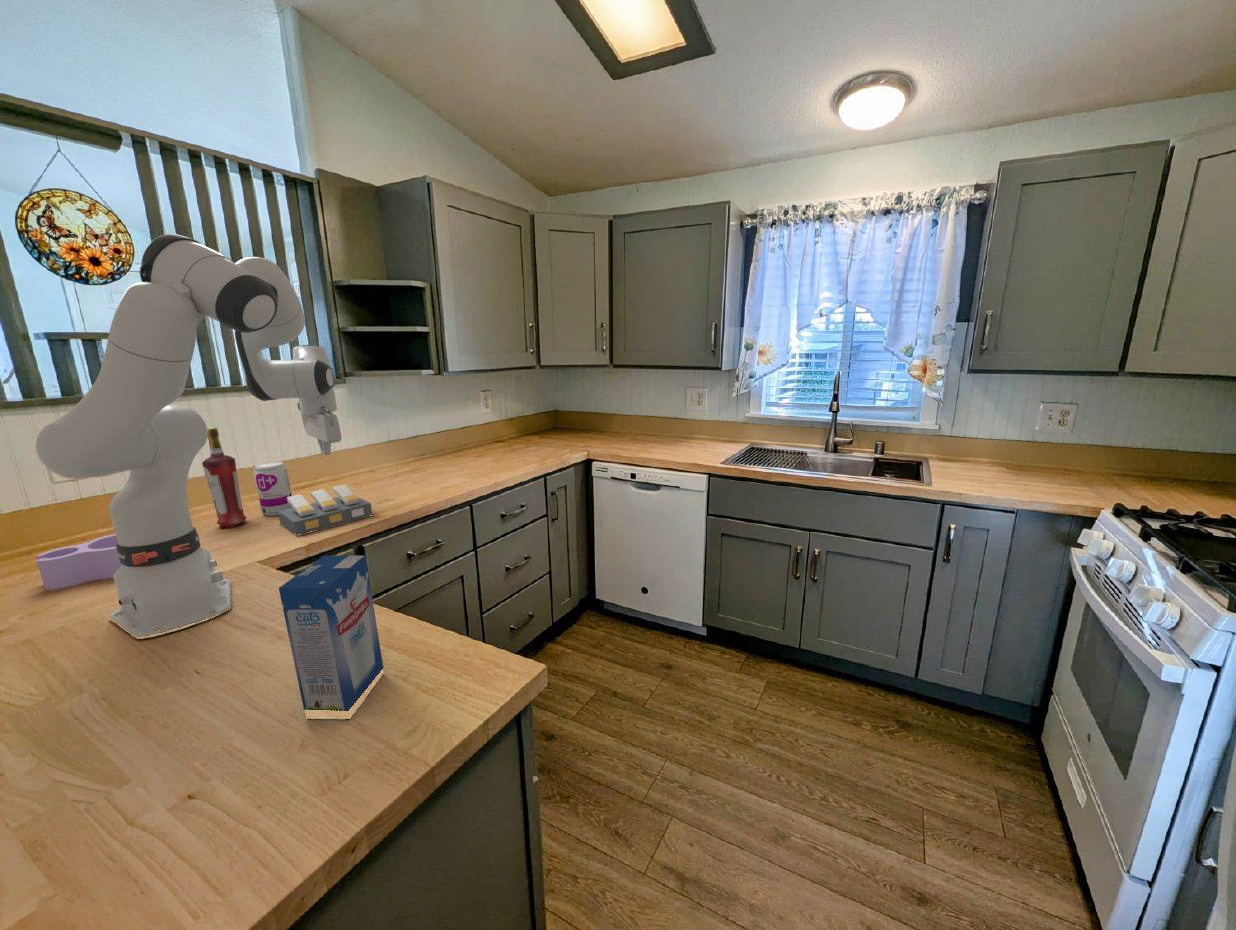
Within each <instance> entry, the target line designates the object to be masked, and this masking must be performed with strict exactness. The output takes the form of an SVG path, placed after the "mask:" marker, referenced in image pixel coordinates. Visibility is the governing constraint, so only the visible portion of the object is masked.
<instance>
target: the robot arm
mask: <svg viewBox="0 0 1236 930" xmlns="http://www.w3.org/2000/svg"><path fill="white" fill-rule="evenodd" d="M140 264H141V265H140V267H139V277H140V280H141V281H140V282H137V283H134V284H131V285H130V286H128V288H126V290H125V292H124V294H123V295H122V296H121V299H120V300H119V303H118V305H117V307H116V310H115V313H114V315H113V318H112V321H111V323H110V328H109V332H108V337H107V342H106V348H105V351H104V356H103V360H102V363H101V367H100V370H99V374H98V376H97V378H96V379H95V381H94V383H93V384H92V386H91V387H90V388H89V390H88V391H87V393H85V395H84V396H83V397H82V398H81V399H80V400H79V401H78V403H76V405H74V407H72V408H71V409H70V410H69V411H68V412H67V413H65V414H64V415H62V416H60V417H59V418H58V419H55V420H54V421H52V422H51V423H48V424H47V425H45V426H44V427H43V428H41V430H40V431H39V433H38V435H37V438H36V441H35V442H36V443H35V450H36V454H37V456H38V459H39V460H40V462H41V463H42V464H43V465H44V467H46V469H48V470H49V471H51V472H52V473H54V474H56V475H57V476H60V477H61V478H66V479H82V478H85V479H86V478H97V477H98V478H99V477H107V476H111V475H115V474H119V473H123V472H127V471H129V477H128V479H127V481H126V483H125V484H124V486H123V487H122V489H120V490H119V492H117V493H116V494H115V495H114V496H113V497H112V498H111V500H110V502H109V505H108V512H109V515H110V519H111V522H112V526H113V530H114V532H115V533H114V534H116V537H117V541H118V543H117V544H116V548H117V551H116V552H117V555H118V557H119V560H120V563H121V564H122V565H121V567H120V569H119V570H118V571H117V572H116V573H115V574H114V575H113V578H112V579H113V581H114V584H115V589H116V593H117V598H118V604H119V605H120V608H118V609H116V610H114V611H112V612H111V613H109V616H108V617H110V618H112V619H113V620H114V621H115V622H116V623H119V624H120V625H121V626H122V627H123V628H125V629H126V630H128V631H129V632H130V633H132V634H133V635H135V636H137V637H141V636H149V635H151V634H156V633H163V632H166V631H169V630H173V629H175V628H181V627H183V626H186V625H189V624H192V623H197V622H200V621H202V620H205V619H206V618H210V617H212V616H215V615H216V614H220V613H222V612H224V611H225V610H227V609H229V608H230V607H231V604H232V582H231V579H229V578H224V575H223V571H222V569H218V570H215V567H218V563H217V559H212V553H211V551H210V550H209V549H206V548H204V547H202V546H201V543H200V535H199V533H198V532H197V529H196V527H194V526H193V522H192V519H191V518H192V517H191V514H190V509H189V504H188V503H189V502H188V496H187V482H188V478H189V473H190V469H191V466H192V464H193V461H194V459H195V458H196V456H197V454H198V453H199V451H200V450H202V448H204V446H205V445H206V443H207V440H208V437H207V436H208V430H207V428H208V426H207V424H206V421H205V420H204V418H203V417H202V416H201V414H199V413H198V412H197V411H196V410H195V409H193V408H191V407H188V406H184V405H182V406H181V405H171V404H172V403H174V402H175V401H177V400H178V399H179V398H180V397H181V396H182V395H183V393H184V391H185V388H186V383H187V380H188V376H189V372H190V368H191V363H192V360H193V357H194V351H195V347H196V341H197V332H198V331H197V328H198V326H199V325H200V323H201V322H202V321H203V320H204V319H205V318H206V317H208V318H210V319H213V320H214V321H217V322H219V323H220V324H221V325H223V326H224V327H226V328H227V329H228V328H229V329H230V330H234V338H235V342H236V343H235V344H236V348H237V351H238V356H239V358H240V361H241V365H242V368H243V372H244V376H245V378H244V379H245V385H246V388H247V390H248V392H249V393H250V394H251V396H253V397H255V398H256V399H258V400H260V401H262V402H266V401H275V400H281V399H282V400H285V399H287V400H288V399H298V402H297V404H296V405H297V409H298V411H300V415H301V419H302V423H303V427H304V430H305V432H306V434H307V435H309V436H310V437H313V438H314V439H316V441H317V444H318V446H319V448H320V453H321V454H323V455H324V456H330V455H331V454H332V449H331V447H332V444H333V443H334V444H335V443H339V442H342V431H341V426H340V423H339V420H338V419H339V418H338V416H337V415H336V414H335V413H334V412H336V411H338V406H337V399H336V392H335V390H334V388H333V387H335V376H334V372H333V368H332V367H331V365H330V360H329V357H328V354H327V352H326V349H325V348H324V347H323V346H320V345H316V344H315V345H314V344H301V345H296V346H294V347H293V348H292V359H281V360H280V359H274V360H272V359H266V358H264V357H263V352H262V351H264V350H266V349H269V348H274V347H279V346H284V345H287V344H290V343H291V342H293V341H294V340H296V339H297V338H298V337H299V336H300V335H301V334H302V332H303V330H304V328H305V326H306V325H305V324H306V317H305V312H304V308H303V305H302V303H301V301H300V298H299V297H298V293H297V292H296V290H295V288H294V286H293V285H292V284H291V282H290V280H289V279H288V276H287V275H286V274H285V273H284V271H283V270H282V269H281V268H280V267H279V266H278V265H277V264H276V263H275V262H273V261H272V260H269V259H266V258H264V257H259V256H249V257H244V258H242V259H239V260H238V261H236V262H234V261H233V260H232V259H231V258H230V257H228V256H225V255H223V254H222V253H220V252H218V251H216V250H214V249H212V248H210V247H207V246H205V245H203V244H202V243H201V242H200V241H198V240H195V239H193V238H190V237H189V236H185V235H183V234H182V235H181V234H177V233H165V234H162V235H159V236H157V237H156V238H154V239H153V240H152V241H151V242H150V243H149V244H148V245H147V247H146V248H145V250H144V252H143V254H142V258H141V262H140ZM122 614H123V615H122ZM118 615H120V616H118ZM110 618H109V619H110ZM157 630H160V631H157ZM155 631H156V632H155Z"/></svg>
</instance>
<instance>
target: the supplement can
mask: <svg viewBox="0 0 1236 930" xmlns="http://www.w3.org/2000/svg"><path fill="white" fill-rule="evenodd" d="M288 473H289V472H288V469H287V466H286V465H285V464H284V462H282V461H273V462H272V461H270V462H263V463H259V464H256V465H255V466H254V471H253V476H254V480H255V481H254V482H255V486H256V491H257V495H258V499H259V504H260V510H261V514H263V515H265V516H267V517H277V516H279V514H278V511H281V510H285V509H289V508H293V507H292V506H291V505H290V504H289V502H288V501H287V497H290V496H293V494H292V490H291V483H290V479H289V474H288ZM276 515H277V516H276Z"/></svg>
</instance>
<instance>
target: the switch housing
mask: <svg viewBox="0 0 1236 930" xmlns="http://www.w3.org/2000/svg"><path fill="white" fill-rule="evenodd" d="M357 497H358V498H359V503H355V504H351V505H346V504H345V503H344V502H343V501H342V500H341V499H340V498H339V497H338V496H337V497H333V498H332V499H333V500H334V501H335V502H336V503H337V506H338V508H334V509H330V510H326V511H324V510H323V509H322V508H321V507H320V506H319V504H318V503H317V502H316V501H315V502H311V503H309V504H310V505H311V506H312V508H313V509H314V513H313V514H309V515H305V516H301V517H300V516H299V514H298V513H297V512H296V511H295V510H294V508H289V509H285V510H281V511H278V514H279V515H278V519H279V522H280V525H281V526H282V525H283V526H284V527H283V526H282V527H283V528H285V529H286V530H288V531H289V530H290V531H291V532H290V531H289V532H290V533H292V532H293V533H294V534H296V535H298V534H303V535H305V534H304V533H307V532H310V531H314V530H318V531H321V530H320V529H322V530H325V529H324V528H326V529H328V528H327V527H329V528H331V527H330V526H333V525H337V526H340V525H339V524H341V525H343V524H342V523H344V524H347V523H346V522H348V523H350V522H349V521H352V520H356V521H358V520H359V521H360V520H362V519H361V518H363V519H365V517H367V518H369V517H368V516H370V515H373V510H372V503H371V502H369V501H368V500H365V499H362V498H360V497H359V496H357ZM352 522H353V521H352ZM333 527H334V526H333ZM314 532H315V531H314ZM293 533H292V534H293ZM294 534H293V535H294ZM307 534H308V533H307ZM296 535H295V536H296Z"/></svg>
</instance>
